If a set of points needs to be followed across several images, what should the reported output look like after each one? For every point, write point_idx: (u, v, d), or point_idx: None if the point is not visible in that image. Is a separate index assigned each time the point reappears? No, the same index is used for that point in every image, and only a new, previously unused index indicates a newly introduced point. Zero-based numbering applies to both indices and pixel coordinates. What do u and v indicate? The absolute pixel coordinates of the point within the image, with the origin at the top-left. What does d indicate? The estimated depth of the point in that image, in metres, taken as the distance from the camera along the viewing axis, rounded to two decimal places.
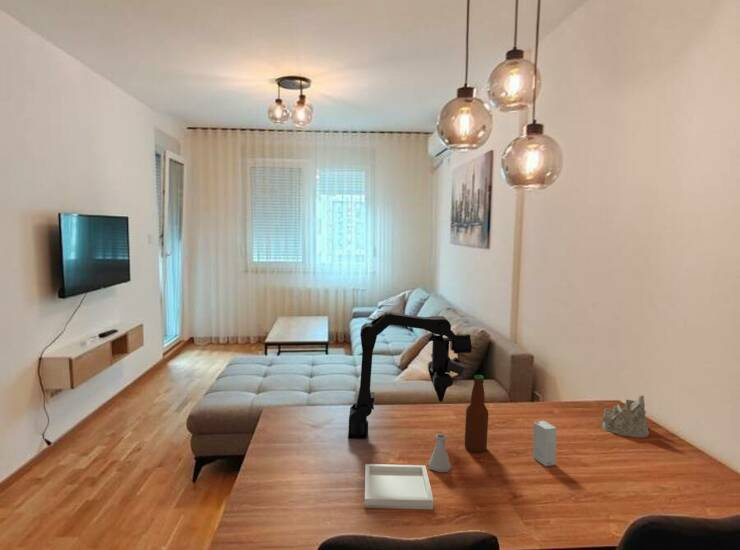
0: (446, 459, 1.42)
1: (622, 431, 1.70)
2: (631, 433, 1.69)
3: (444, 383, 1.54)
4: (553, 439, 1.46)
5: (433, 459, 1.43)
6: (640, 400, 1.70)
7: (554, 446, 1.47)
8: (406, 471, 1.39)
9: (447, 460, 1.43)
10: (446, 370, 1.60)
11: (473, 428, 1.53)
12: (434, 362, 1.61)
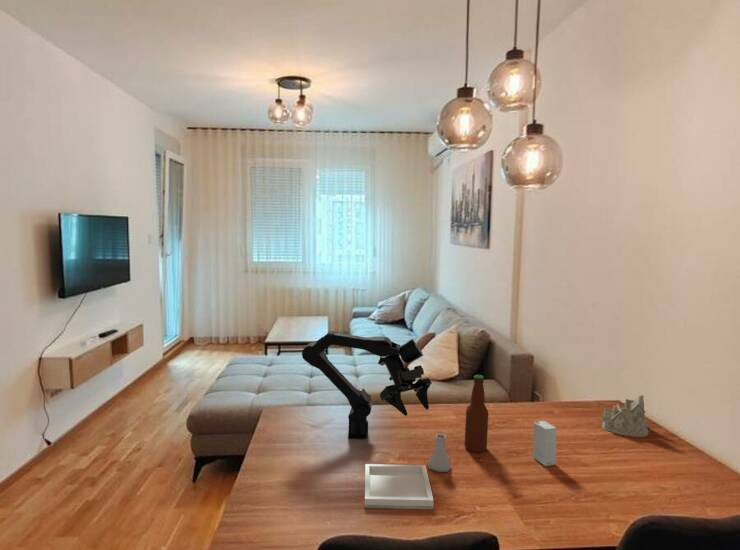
0: (446, 459, 1.42)
1: (622, 431, 1.70)
2: (631, 433, 1.69)
3: (385, 395, 1.50)
4: (553, 439, 1.46)
5: (433, 459, 1.43)
6: (640, 400, 1.70)
7: (554, 446, 1.47)
8: (406, 471, 1.39)
9: (447, 460, 1.43)
10: (400, 382, 1.55)
11: (473, 428, 1.53)
12: None
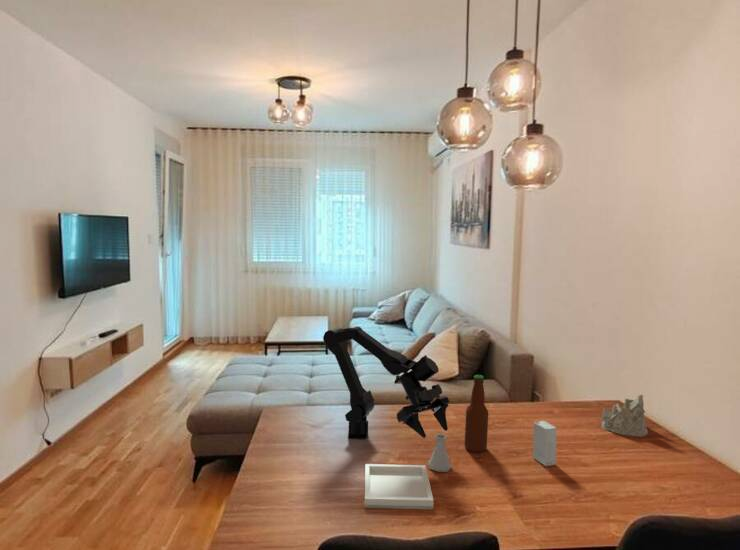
0: (446, 459, 1.42)
1: (621, 430, 1.71)
2: (630, 432, 1.70)
3: (402, 416, 1.44)
4: (553, 439, 1.46)
5: (433, 459, 1.43)
6: (639, 399, 1.71)
7: (554, 446, 1.47)
8: (406, 471, 1.39)
9: (447, 460, 1.43)
10: None
11: (473, 428, 1.53)
12: None
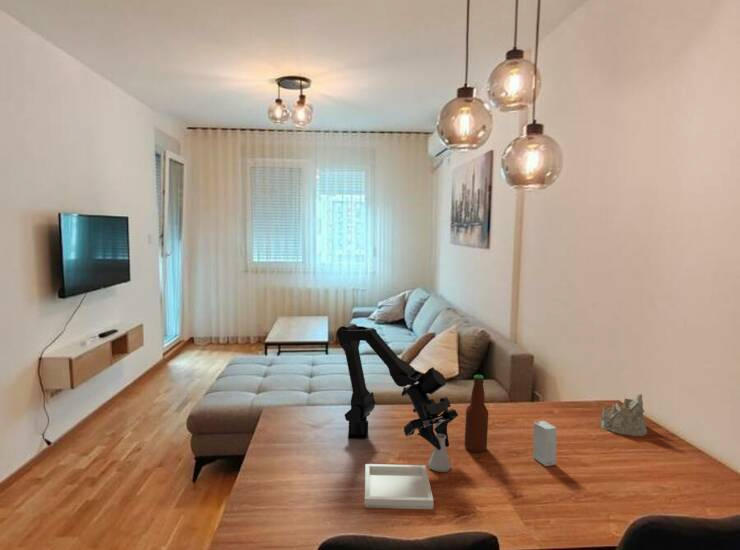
0: (446, 459, 1.42)
1: (621, 430, 1.71)
2: (630, 432, 1.70)
3: (409, 430, 1.41)
4: (553, 439, 1.46)
5: (433, 459, 1.43)
6: (638, 399, 1.71)
7: (554, 446, 1.47)
8: (406, 471, 1.39)
9: (447, 460, 1.43)
10: (425, 416, 1.45)
11: (473, 428, 1.53)
12: None
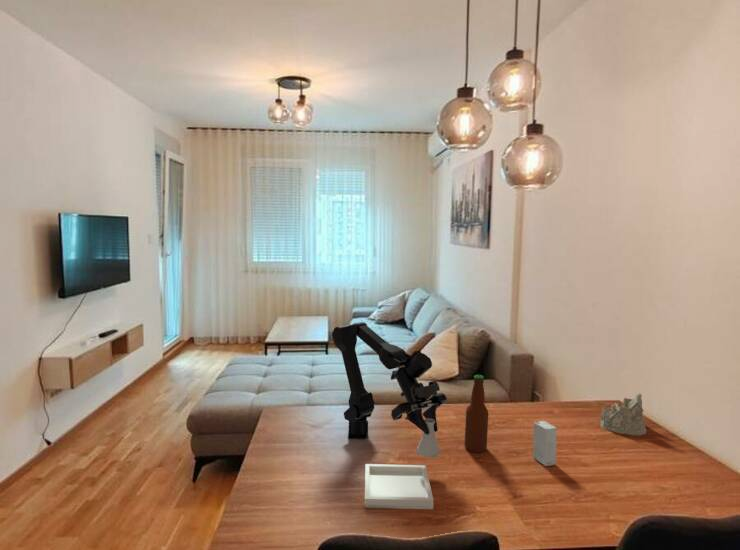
0: (435, 444, 1.38)
1: (620, 429, 1.72)
2: (629, 431, 1.71)
3: (397, 414, 1.36)
4: (553, 439, 1.46)
5: (421, 444, 1.38)
6: (638, 398, 1.72)
7: (554, 446, 1.47)
8: (406, 471, 1.39)
9: (436, 445, 1.38)
10: None
11: (473, 428, 1.53)
12: None
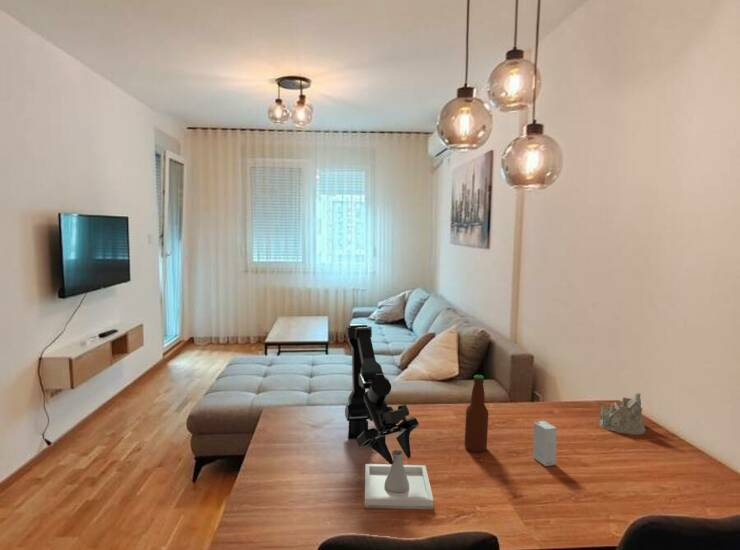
0: (403, 478, 1.29)
1: (619, 428, 1.72)
2: (628, 430, 1.71)
3: (362, 441, 1.28)
4: (553, 439, 1.46)
5: (389, 478, 1.30)
6: (637, 398, 1.72)
7: (554, 446, 1.47)
8: (406, 471, 1.39)
9: (404, 479, 1.30)
10: None
11: (473, 428, 1.53)
12: None
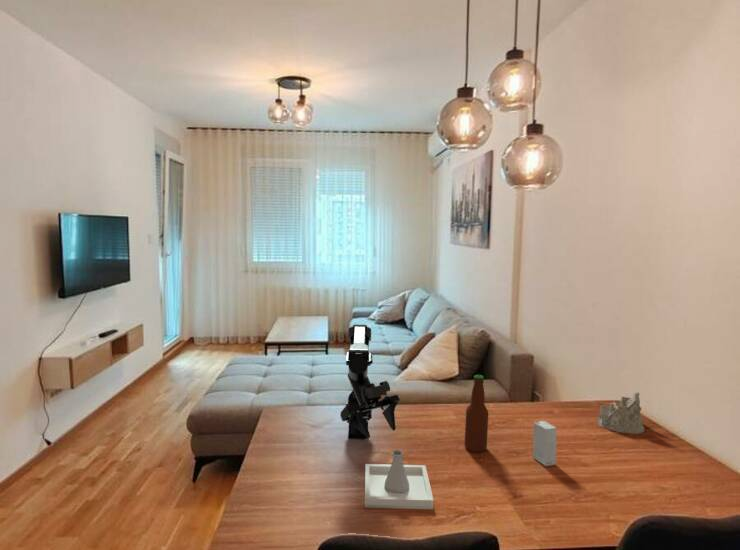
0: (403, 478, 1.29)
1: (618, 428, 1.73)
2: (627, 430, 1.72)
3: (345, 415, 1.35)
4: (553, 439, 1.46)
5: (389, 478, 1.30)
6: (636, 397, 1.73)
7: (554, 446, 1.47)
8: (406, 471, 1.39)
9: (404, 479, 1.30)
10: None
11: (473, 428, 1.53)
12: None
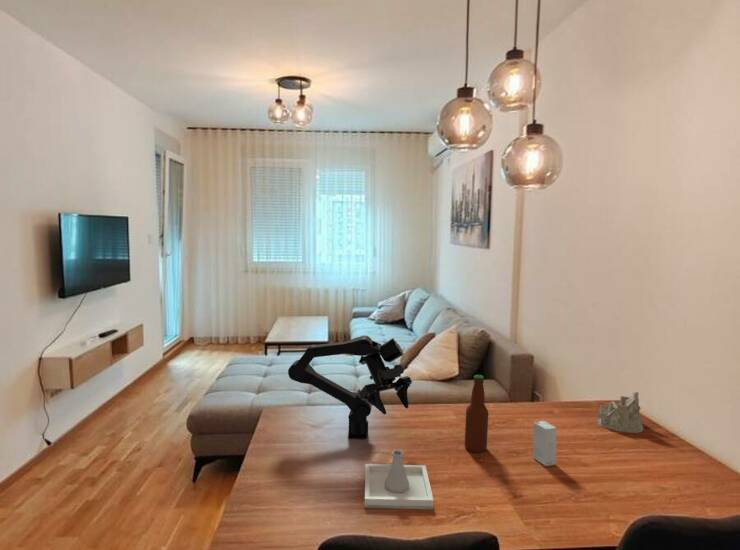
0: (403, 478, 1.29)
1: (618, 427, 1.73)
2: (626, 429, 1.73)
3: (364, 394, 1.51)
4: (553, 439, 1.46)
5: (389, 478, 1.30)
6: (635, 396, 1.74)
7: (554, 446, 1.47)
8: (406, 471, 1.39)
9: (404, 479, 1.30)
10: (380, 381, 1.55)
11: (473, 428, 1.53)
12: None
